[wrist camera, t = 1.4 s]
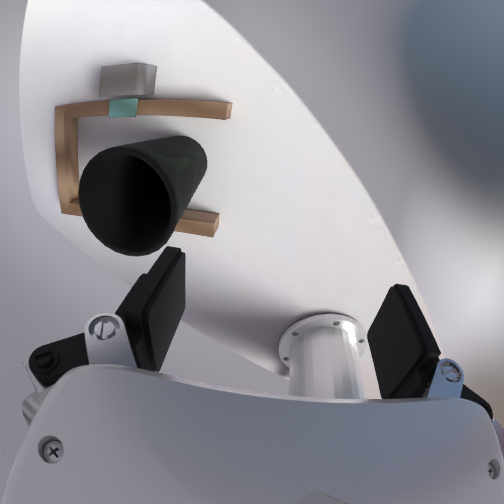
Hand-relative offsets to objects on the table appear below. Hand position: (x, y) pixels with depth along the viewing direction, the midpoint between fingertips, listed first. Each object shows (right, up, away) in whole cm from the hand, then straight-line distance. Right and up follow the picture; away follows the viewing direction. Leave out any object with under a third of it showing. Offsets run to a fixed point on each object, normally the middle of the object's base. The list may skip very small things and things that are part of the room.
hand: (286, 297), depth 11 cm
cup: (-8, +11, +16) cm, 21 cm away
